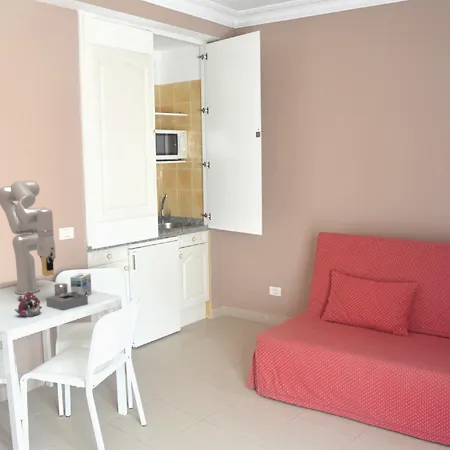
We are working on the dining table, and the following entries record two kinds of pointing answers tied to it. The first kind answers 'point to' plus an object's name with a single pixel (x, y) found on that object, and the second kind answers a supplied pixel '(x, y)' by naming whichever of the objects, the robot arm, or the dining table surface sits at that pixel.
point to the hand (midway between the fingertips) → (47, 269)
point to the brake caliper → (28, 305)
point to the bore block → (67, 301)
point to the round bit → (60, 289)
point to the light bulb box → (81, 284)
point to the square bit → (44, 267)
